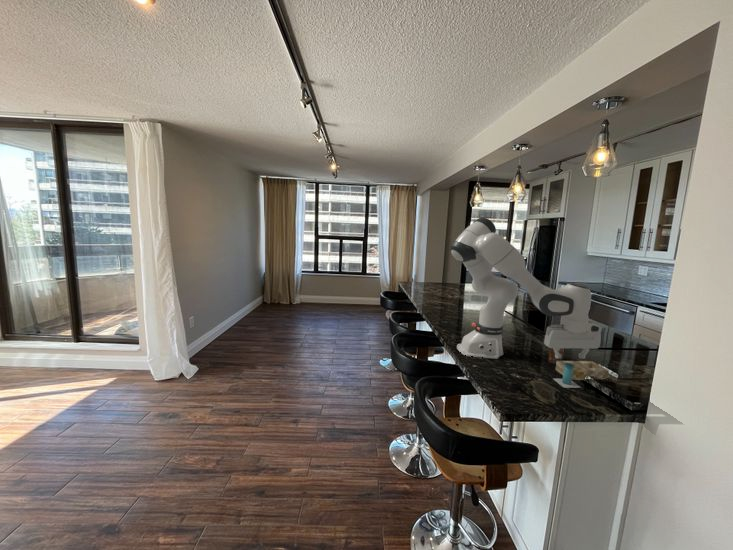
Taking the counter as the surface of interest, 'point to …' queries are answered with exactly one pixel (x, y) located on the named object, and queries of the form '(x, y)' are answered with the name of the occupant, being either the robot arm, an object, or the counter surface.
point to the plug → (567, 373)
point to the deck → (573, 385)
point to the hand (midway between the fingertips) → (569, 358)
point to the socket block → (583, 369)
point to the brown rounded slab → (552, 355)
